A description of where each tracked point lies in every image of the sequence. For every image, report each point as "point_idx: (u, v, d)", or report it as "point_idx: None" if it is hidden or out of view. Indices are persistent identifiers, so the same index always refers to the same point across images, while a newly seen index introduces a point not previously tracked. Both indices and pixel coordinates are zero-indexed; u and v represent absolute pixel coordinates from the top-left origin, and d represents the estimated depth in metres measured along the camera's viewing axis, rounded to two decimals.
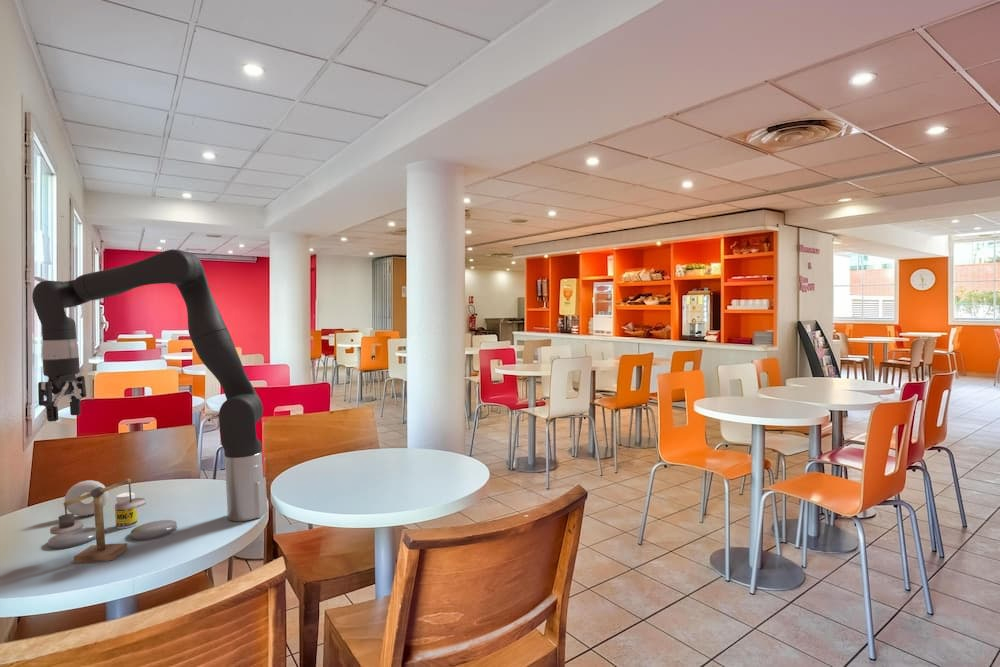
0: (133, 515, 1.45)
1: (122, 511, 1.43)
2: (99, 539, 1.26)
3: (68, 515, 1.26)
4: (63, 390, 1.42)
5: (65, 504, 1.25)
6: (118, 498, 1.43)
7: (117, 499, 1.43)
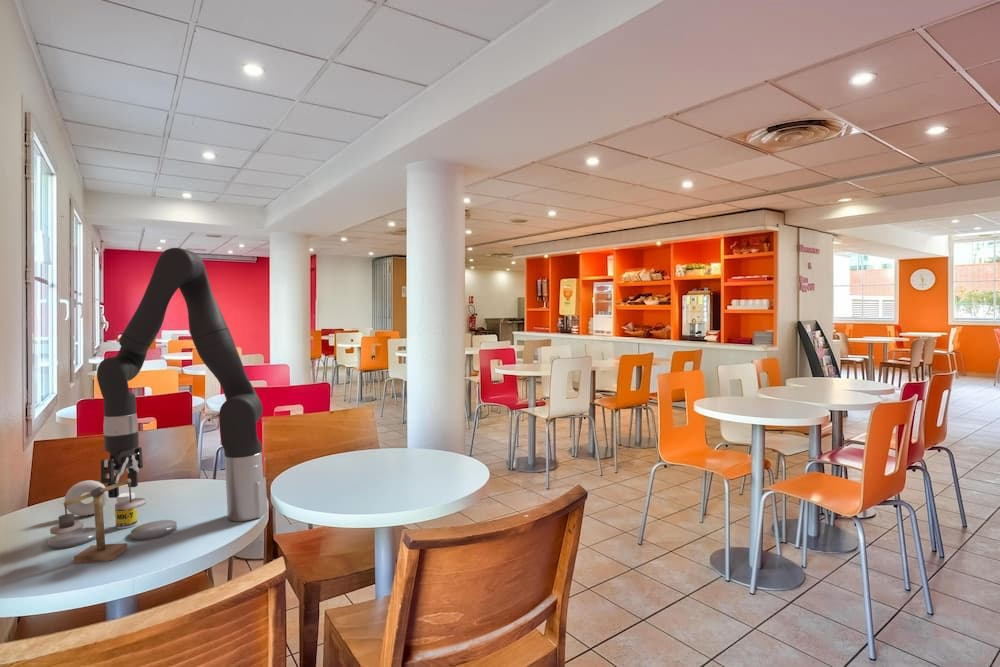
0: (133, 515, 1.45)
1: (122, 511, 1.43)
2: (99, 539, 1.26)
3: (68, 515, 1.26)
4: (123, 465, 1.42)
5: (65, 504, 1.25)
6: (118, 498, 1.43)
7: (117, 499, 1.43)
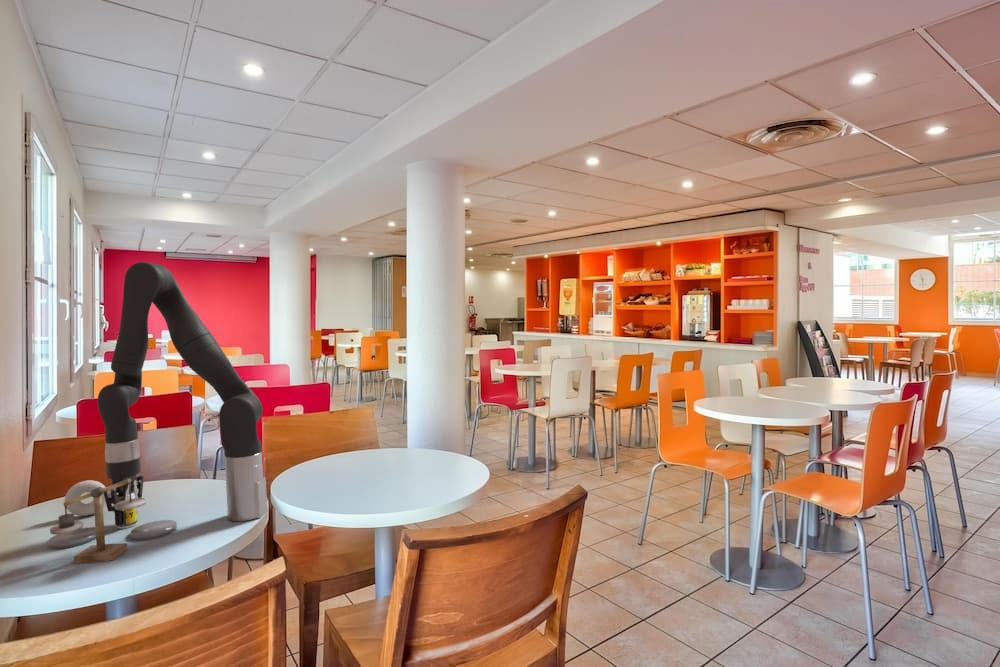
0: (133, 515, 1.45)
1: None
2: (99, 539, 1.26)
3: (68, 515, 1.26)
4: (127, 492, 1.43)
5: (65, 504, 1.25)
6: (118, 498, 1.43)
7: None
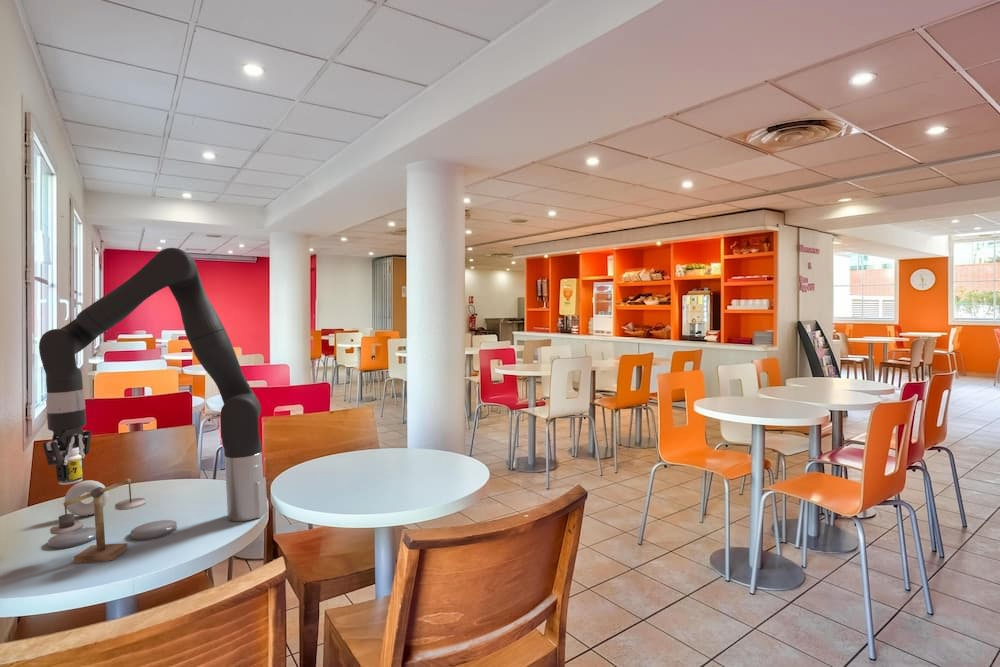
0: (77, 471, 1.35)
1: None
2: (99, 539, 1.26)
3: (68, 515, 1.26)
4: (70, 446, 1.34)
5: (65, 504, 1.25)
6: None
7: None
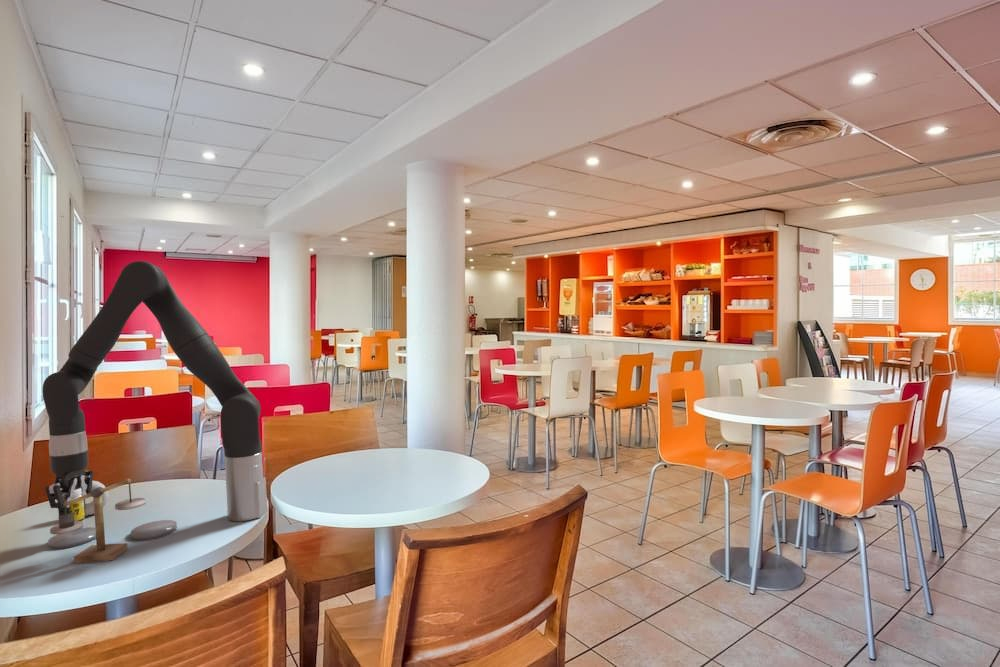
0: (79, 512, 1.36)
1: None
2: (99, 539, 1.26)
3: (68, 515, 1.26)
4: (73, 488, 1.34)
5: (65, 504, 1.25)
6: None
7: None
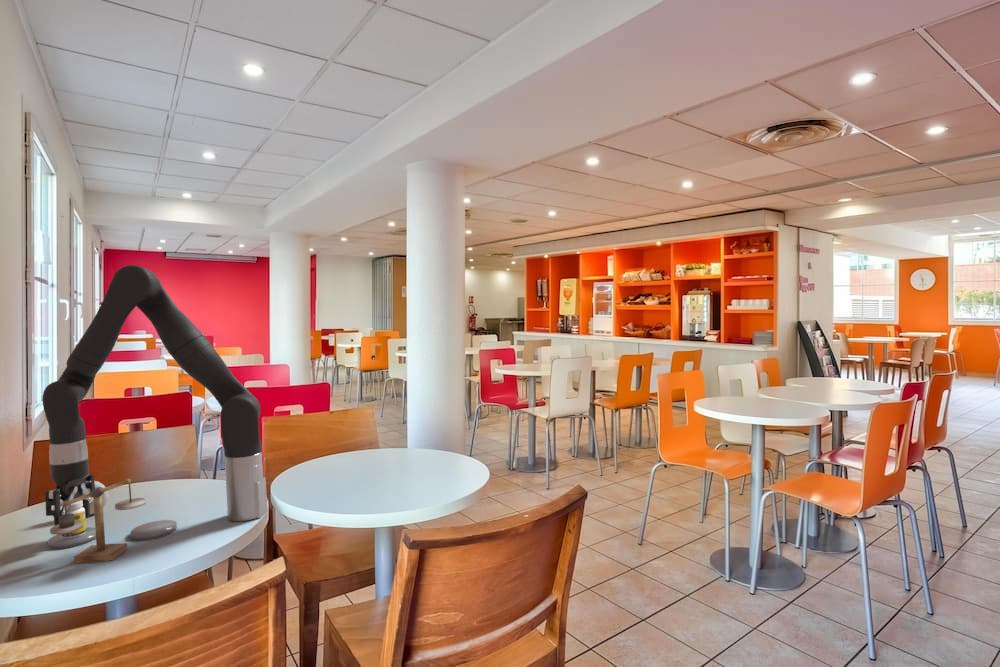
0: None
1: None
2: (99, 539, 1.26)
3: (68, 515, 1.26)
4: (72, 496, 1.34)
5: (65, 504, 1.25)
6: None
7: None
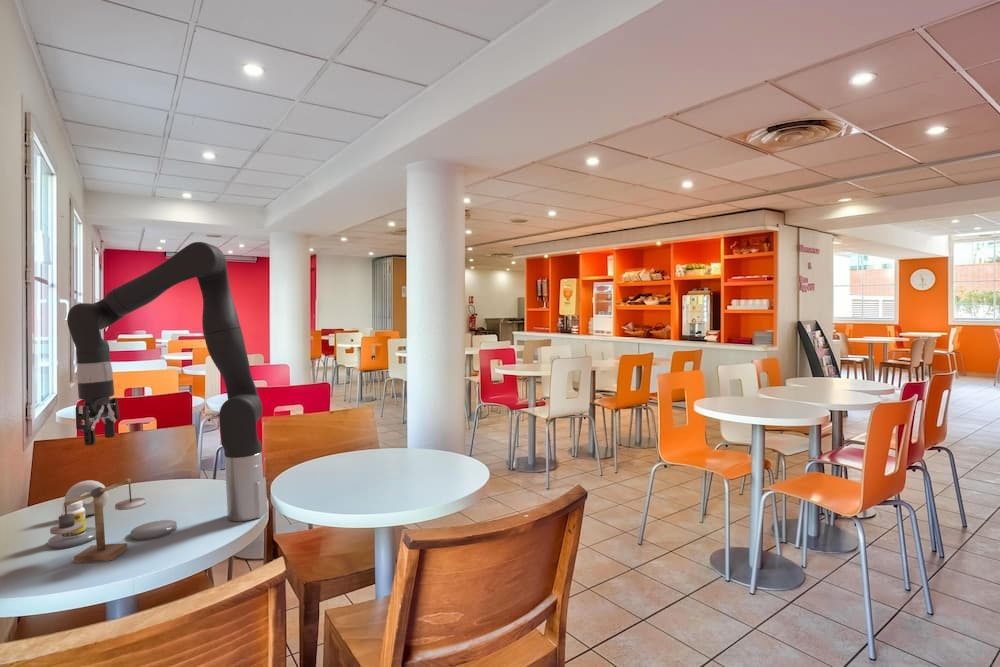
0: None
1: None
2: (99, 539, 1.26)
3: (68, 515, 1.26)
4: (99, 413, 1.41)
5: (65, 504, 1.25)
6: None
7: (63, 507, 1.34)
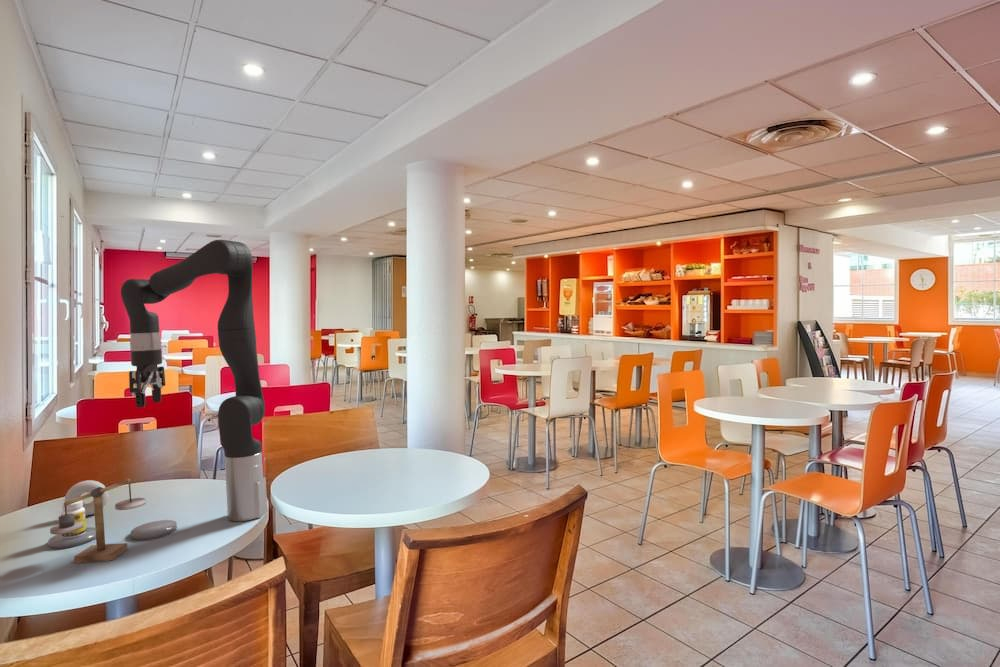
0: None
1: None
2: (99, 539, 1.26)
3: (68, 515, 1.26)
4: (149, 379, 1.55)
5: (65, 504, 1.25)
6: None
7: (63, 507, 1.34)
